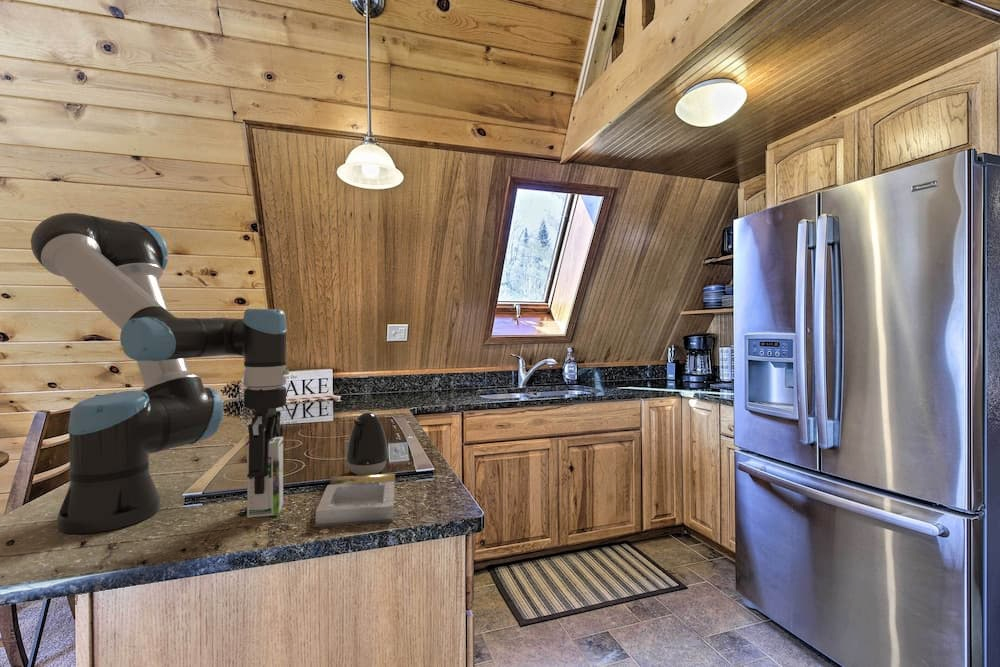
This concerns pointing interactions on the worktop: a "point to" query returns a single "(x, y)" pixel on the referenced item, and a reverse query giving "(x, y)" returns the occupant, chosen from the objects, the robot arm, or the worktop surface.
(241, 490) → the worktop surface
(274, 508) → the syrup box
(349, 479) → the brass rod
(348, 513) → the collar
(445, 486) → the worktop surface
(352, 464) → the black egg shape
